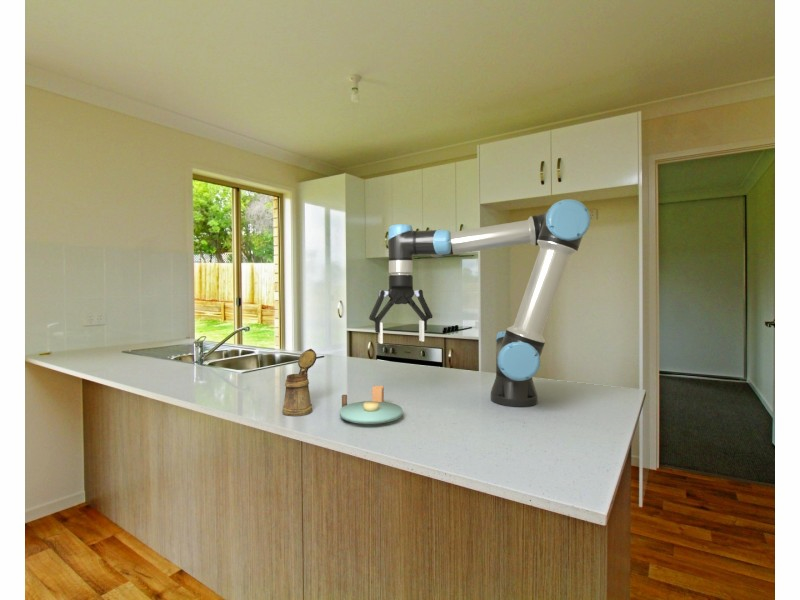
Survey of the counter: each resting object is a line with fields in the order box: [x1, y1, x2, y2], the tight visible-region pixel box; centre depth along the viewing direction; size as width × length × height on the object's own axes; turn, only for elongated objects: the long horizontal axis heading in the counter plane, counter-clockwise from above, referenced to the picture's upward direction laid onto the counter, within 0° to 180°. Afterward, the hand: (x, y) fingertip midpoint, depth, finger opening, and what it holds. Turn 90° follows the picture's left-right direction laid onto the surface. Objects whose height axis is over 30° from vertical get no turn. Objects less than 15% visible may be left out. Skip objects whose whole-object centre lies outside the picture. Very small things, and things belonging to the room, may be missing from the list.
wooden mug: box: [281, 348, 318, 417], centre depth 133 cm, size 9×14×18 cm, turn 163°
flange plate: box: [339, 385, 403, 425], centre depth 127 cm, size 18×21×5 cm
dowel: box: [341, 394, 348, 408], centre depth 132 cm, size 2×2×5 cm
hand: (401, 342), depth 137 cm, fingers open, 13 cm apart
